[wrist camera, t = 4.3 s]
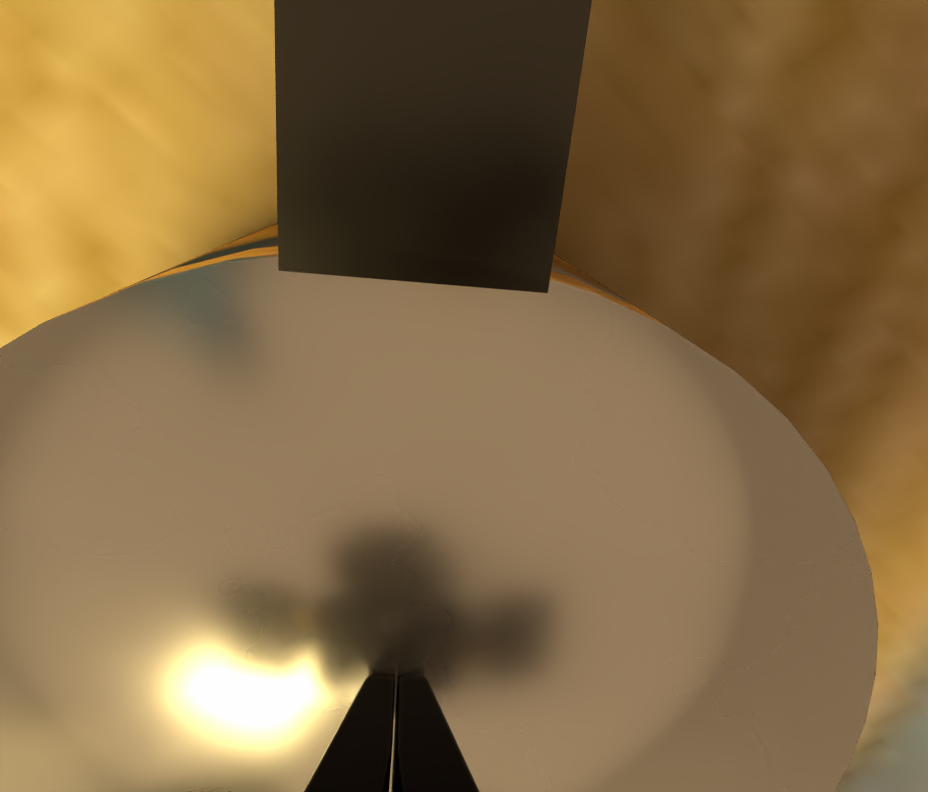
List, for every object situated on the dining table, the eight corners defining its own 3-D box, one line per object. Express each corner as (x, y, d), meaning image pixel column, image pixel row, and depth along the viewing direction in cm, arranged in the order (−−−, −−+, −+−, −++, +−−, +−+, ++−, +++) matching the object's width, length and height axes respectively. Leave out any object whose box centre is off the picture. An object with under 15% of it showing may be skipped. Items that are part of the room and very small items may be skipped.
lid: (-15, 982, 12) (-57, 1063, 11) (-411, -196, 6) (-620, -289, 4) (703, 952, 14) (729, 1020, 13) (1084, 27, 7) (1204, 3, 6)
